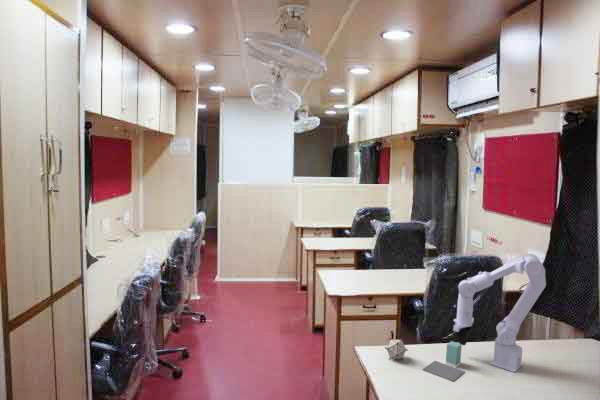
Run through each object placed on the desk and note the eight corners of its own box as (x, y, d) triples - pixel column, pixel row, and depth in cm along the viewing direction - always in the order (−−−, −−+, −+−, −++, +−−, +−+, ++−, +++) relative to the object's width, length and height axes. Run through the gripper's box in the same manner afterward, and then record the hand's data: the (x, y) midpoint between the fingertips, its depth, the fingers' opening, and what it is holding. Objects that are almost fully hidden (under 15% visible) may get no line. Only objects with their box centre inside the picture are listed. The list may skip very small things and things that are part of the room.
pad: (464, 372, 169) (465, 371, 169) (453, 381, 162) (453, 380, 162) (434, 361, 177) (434, 360, 177) (422, 370, 170) (422, 369, 170)
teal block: (460, 364, 175) (461, 344, 174) (455, 367, 172) (457, 347, 172) (450, 360, 178) (451, 341, 177) (445, 364, 175) (447, 344, 174)
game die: (397, 365, 181) (411, 344, 182) (400, 368, 172) (414, 345, 174) (378, 352, 182) (392, 330, 184) (380, 353, 174) (394, 331, 176)
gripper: (462, 304, 187) (460, 336, 188) (446, 312, 176) (444, 346, 178) (479, 308, 182) (477, 341, 184) (464, 317, 172) (462, 352, 173)
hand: (462, 344), depth 180 cm, fingers closed
